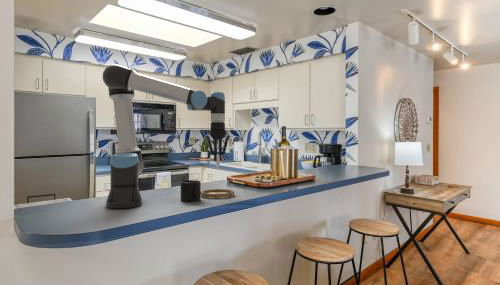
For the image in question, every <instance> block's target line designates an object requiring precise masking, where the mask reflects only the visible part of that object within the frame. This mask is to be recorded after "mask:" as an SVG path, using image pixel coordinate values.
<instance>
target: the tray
mask: <svg viewBox="0 0 500 285" xmlns="http://www.w3.org/2000/svg"><path fill="white" fill-rule="evenodd" d="M234 195H235V190H234V189H233V190H232V189H227V188H226V189H224V188H212V189H204V190H201V198H203V199H210V200H211V199H214V200H215V199H217V200H218V199H220V200H221V199H230V198H233V197H234Z"/></svg>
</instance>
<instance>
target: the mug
mask: <svg viewBox="0 0 500 285" xmlns="http://www.w3.org/2000/svg"><path fill="white" fill-rule="evenodd" d="M201 185H202V184H201V181H200V180H194V179H193V180H192V179H191V180H189V179H188V180H187V179H186V180H181V181H180V201H181V202H184V203H195V202H196V203H197V202H199V201H201V198H202V197H201V191H202V190H201Z"/></svg>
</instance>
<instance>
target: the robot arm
mask: <svg viewBox="0 0 500 285" xmlns="http://www.w3.org/2000/svg"><path fill="white" fill-rule="evenodd" d="M102 81H103V83H104V85H105V86H106V87H107V88H108V96H109V98H110V99H111V100H112V101H113V109H114V110H113V111H114V119H115V127H116V134H117V143H118V150H117V151H116V152H115V153H114V154H112V155H111V156H110V160H109V163H110V189H109V192H108V195H107V198H106V200H105V207H106V208H108V209H109V208H110V209H128V208H129V209H130V208H135V207H136V208H137V207H140V206H142V205H143V198H142V195H141V192H140V189H139V176H140V175H141V174H142V173H143V171H144V170H145V162H144V159H143V156H142V150H141V148H139V147H138V142H137V133H136V123H135V117H134V116H135V115H134V106H133V99H134V98H135V91H137V92H141V93H145V94H148V95H151V96H155V97H157V98H163V99H167V100H170V101H173V102H177V103H180V104H185V105H186V107H187V108H186V109H187V110H188V111H194V112H195V111H202V112H203V111H206V112H207V111H208V112H209V111H210V130H209V134H207V135H205V139H206V141H207V145H208V148H209V149H208V150H209V152H210V154H211V155H213V161H214V162H215V168H220V166H221V165H220V164H221V163H220V162H222V158H223V157H222V156H223V155H224V154H226V151H227V146H228V142H229V139H230V138H231V135H228V134H227V133H226V123H225V122H226V97H225V93H224V92H222V91H221V92H220V91H213V92H210V95H207V94H206V92H204V91H203V90H199V89H198V90H194V89H192V88H188V87H185V86H181V85H178V84H175V83H171V82H167V81H164V80H161V79H157V78H155V77H151V76H147V75H145V74H141V73H137V72H136V70H135V69H132V68H128V67H125V66H123V65H120V64H111V65H109V66H107V67H105V68H104V70H103V71H102ZM211 138H212V140H213V145H212V142H211ZM223 139H224V143H223ZM222 143H223V144H222Z"/></svg>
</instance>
